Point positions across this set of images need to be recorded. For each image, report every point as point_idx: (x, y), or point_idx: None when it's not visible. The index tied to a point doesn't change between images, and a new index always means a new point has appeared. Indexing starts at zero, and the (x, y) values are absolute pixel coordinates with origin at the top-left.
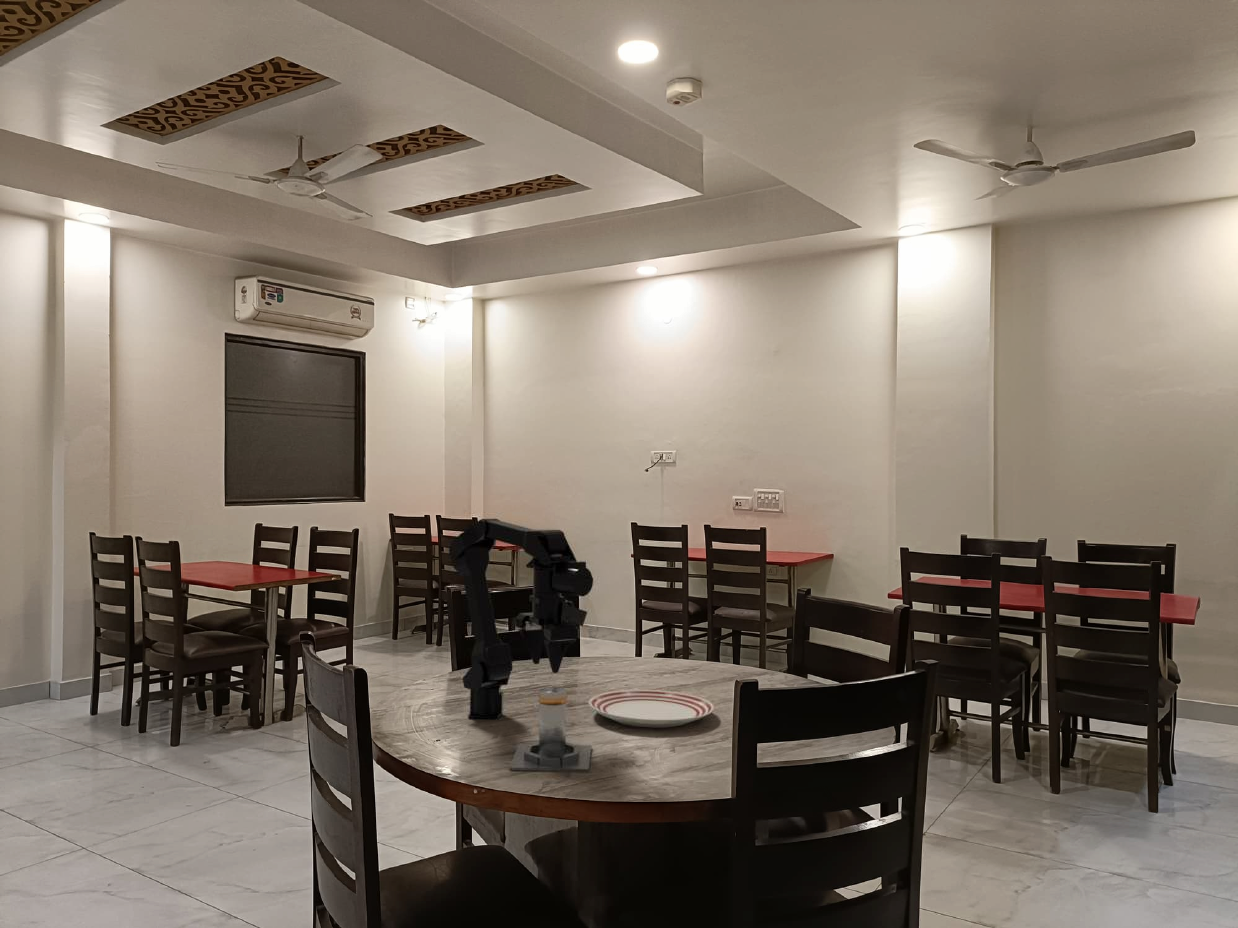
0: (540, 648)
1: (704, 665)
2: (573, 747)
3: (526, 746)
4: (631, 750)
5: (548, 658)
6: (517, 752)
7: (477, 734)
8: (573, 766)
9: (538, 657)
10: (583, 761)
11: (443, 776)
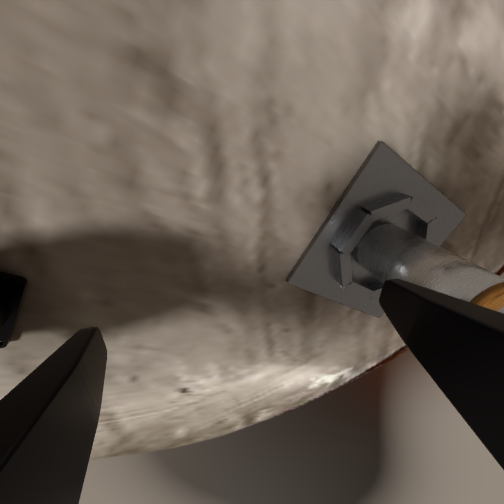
0: (27, 451)
1: None
2: (403, 209)
3: (347, 289)
4: (451, 48)
5: (446, 395)
6: (329, 295)
7: (170, 335)
8: (441, 232)
9: (84, 370)
10: (437, 206)
11: (344, 381)
